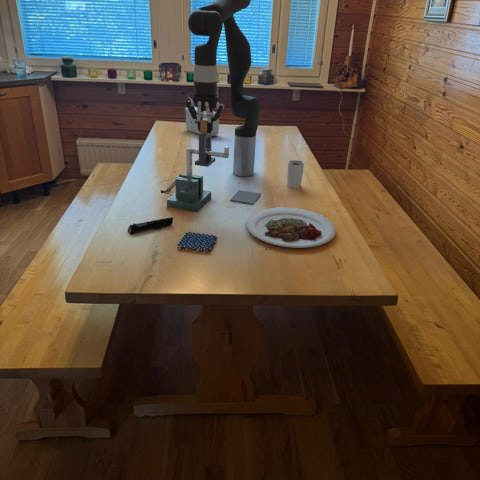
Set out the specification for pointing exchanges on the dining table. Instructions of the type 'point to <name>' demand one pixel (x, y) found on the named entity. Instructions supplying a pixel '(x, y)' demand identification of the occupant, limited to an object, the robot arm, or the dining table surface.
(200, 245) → the woven mat
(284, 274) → the dining table surface
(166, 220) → the electric trimmer
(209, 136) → the brown and black post
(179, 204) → the vise
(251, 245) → the dining table surface
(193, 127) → the stereo radio cassette player
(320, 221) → the plated food
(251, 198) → the slate pad
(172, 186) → the tomahawk
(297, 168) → the grey cup
